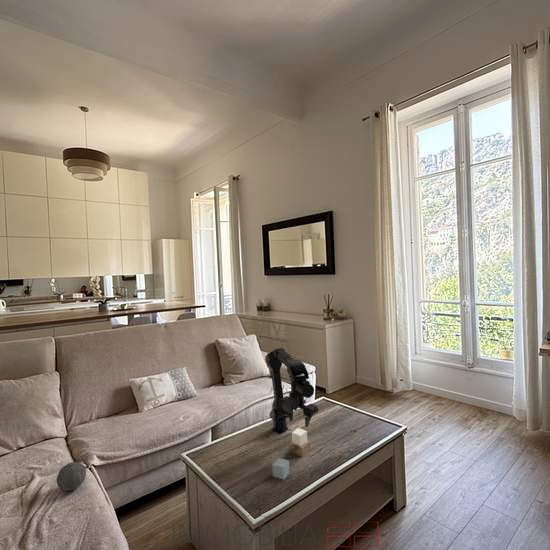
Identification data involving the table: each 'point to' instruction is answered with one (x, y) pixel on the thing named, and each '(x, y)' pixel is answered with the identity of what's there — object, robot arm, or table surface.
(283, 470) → the slate cube
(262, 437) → the table surface
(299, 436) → the cream cube
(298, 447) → the brown wooden block
